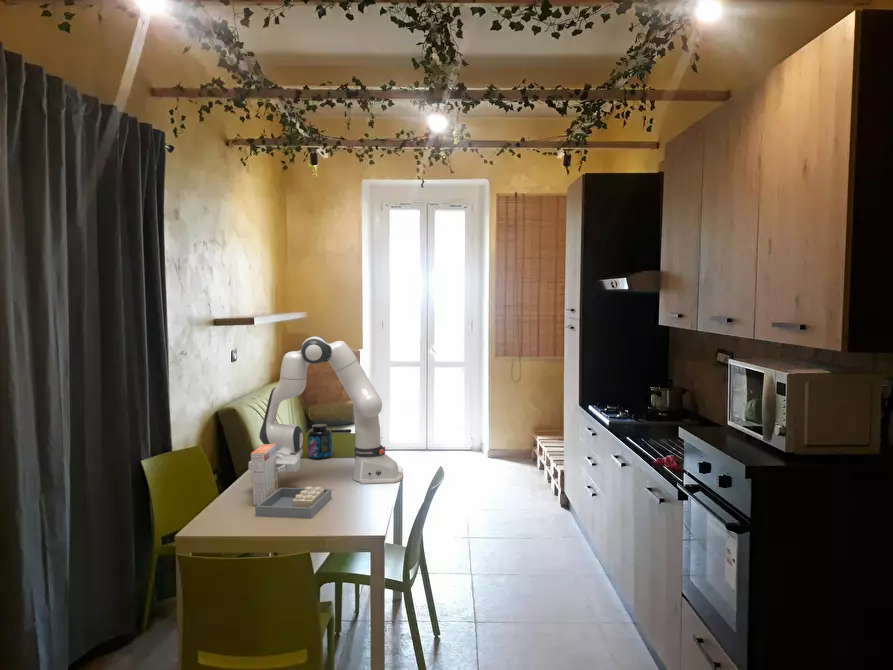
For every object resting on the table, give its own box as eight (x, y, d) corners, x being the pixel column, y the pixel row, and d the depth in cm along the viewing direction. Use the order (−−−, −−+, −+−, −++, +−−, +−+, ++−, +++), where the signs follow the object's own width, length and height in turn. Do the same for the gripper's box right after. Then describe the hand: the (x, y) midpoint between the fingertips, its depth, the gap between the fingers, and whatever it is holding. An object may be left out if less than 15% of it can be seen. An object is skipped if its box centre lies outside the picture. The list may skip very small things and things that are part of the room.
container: (303, 457, 299) (302, 426, 298) (321, 452, 308) (320, 421, 307) (319, 461, 292) (318, 428, 291) (337, 456, 301) (336, 424, 300)
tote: (331, 500, 234) (331, 489, 233) (311, 521, 212) (310, 508, 212) (280, 498, 237) (280, 487, 236) (255, 518, 215) (255, 506, 215)
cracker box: (264, 494, 243) (262, 443, 241) (278, 494, 242) (277, 443, 241) (251, 506, 229) (250, 452, 227) (267, 506, 228) (265, 452, 227)
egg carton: (324, 501, 230) (323, 485, 230) (311, 514, 216) (310, 497, 216) (307, 500, 231) (306, 485, 231) (292, 513, 217) (292, 497, 217)
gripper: (256, 453, 251) (241, 461, 237) (303, 454, 248) (289, 463, 234) (257, 467, 251) (241, 477, 238) (303, 469, 248) (290, 478, 235)
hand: (266, 470), depth 236 cm, fingers open, 8 cm apart
